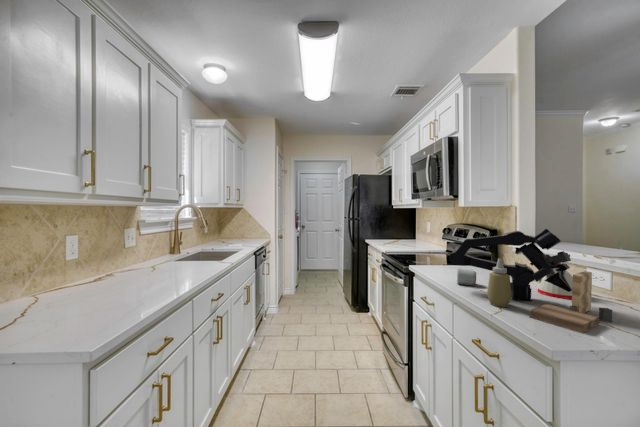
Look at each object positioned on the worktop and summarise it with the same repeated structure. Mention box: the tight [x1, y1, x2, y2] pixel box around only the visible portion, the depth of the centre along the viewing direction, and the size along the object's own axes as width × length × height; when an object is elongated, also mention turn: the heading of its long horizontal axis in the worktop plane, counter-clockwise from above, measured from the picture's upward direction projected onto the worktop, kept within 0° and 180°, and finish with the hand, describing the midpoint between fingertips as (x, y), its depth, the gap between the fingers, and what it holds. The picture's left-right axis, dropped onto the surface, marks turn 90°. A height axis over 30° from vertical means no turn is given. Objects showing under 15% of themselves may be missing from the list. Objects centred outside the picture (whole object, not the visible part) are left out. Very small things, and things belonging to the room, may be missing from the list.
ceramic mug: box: [456, 267, 477, 286], centre depth 139 cm, size 11×8×8 cm
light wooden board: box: [569, 270, 593, 314], centre depth 101 cm, size 13×2×14 cm, turn 120°
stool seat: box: [529, 303, 600, 334], centre depth 94 cm, size 13×14×2 cm
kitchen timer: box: [537, 263, 573, 300], centre depth 123 cm, size 14×14×15 cm
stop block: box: [598, 307, 613, 323], centre depth 95 cm, size 2×2×4 cm
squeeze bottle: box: [486, 258, 512, 308], centre depth 109 cm, size 8×8×18 cm
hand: (570, 291), depth 104 cm, fingers closed
